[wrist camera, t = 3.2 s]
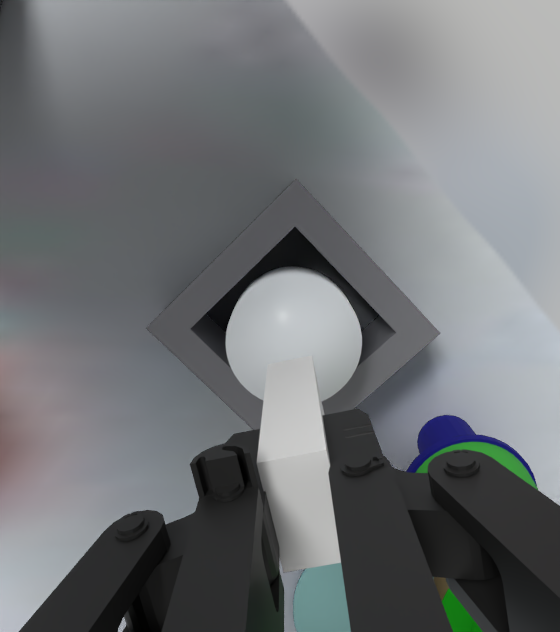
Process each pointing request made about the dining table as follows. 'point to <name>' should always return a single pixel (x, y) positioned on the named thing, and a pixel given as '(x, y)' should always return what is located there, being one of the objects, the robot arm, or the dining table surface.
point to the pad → (321, 600)
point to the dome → (293, 329)
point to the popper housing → (241, 256)
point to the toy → (457, 436)
